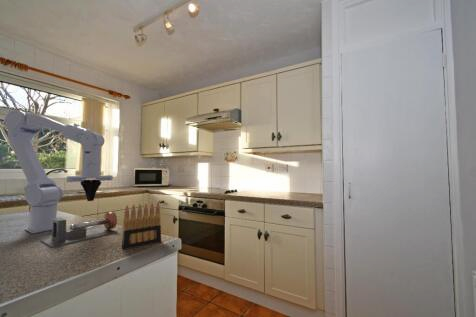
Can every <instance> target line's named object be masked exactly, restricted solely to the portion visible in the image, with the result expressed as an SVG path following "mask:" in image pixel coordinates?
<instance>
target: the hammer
mask: <svg viewBox="0 0 476 317" xmlns="http://www.w3.org/2000/svg"><path fill="white" fill-rule="evenodd" d="M103 216H104V217H103V219H102V218H101V219H97V220H91V221H85V222H80V223H79V222H78V223H73V224H70V225H69V230H76V229H82V228H86V229H87V228H91V227H96V226H102V225H104V226H103V227H105V228H106V229H108V230H109V229H111V230H114V229H115V228H116V227H117V224H118V216H117V214H116V213H115V211H109V212H106V213H105V214H104V215H103Z"/></svg>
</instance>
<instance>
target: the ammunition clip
mask: <svg viewBox="0 0 476 317" xmlns="http://www.w3.org/2000/svg"><path fill="white" fill-rule="evenodd" d="M137 207H138V208H137V211H136V206H135V204H133V205H132V207H131V210H130V209H129V205H126V206H125V208H124V216H123V221H122V222H123V223H122V224H123V226H122V237H121V238H122V240H121V249H122V250H128V249H134V248H137V247H144V246H148V245H152V244H158V243H161V242H162V225H161V207H160V203H159V202H157V203H156V206H154V203H152V202H151V204H150V207H148V204H147V203H145V204H144V208H143V209H142V204H141V203H140V204H139V205H138V206H137ZM130 212H131V213H130ZM136 213H137V215H136Z"/></svg>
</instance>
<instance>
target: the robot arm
mask: <svg viewBox="0 0 476 317" xmlns="http://www.w3.org/2000/svg"><path fill="white" fill-rule="evenodd" d="M3 123H4V125H5V127H6V129H7V140H8V143H9V145H10V146H11V148H12V151H13V152H14V155H15V157H16V159H17V162H18V163H19V165H20V167H21V169H22V171H23V174H24V176H25V178H26V181H27V182H28V183H27V184H26V185H25V186H24V188H23V190H24V192H25V196H24V197H25V202H26V203H27V204H28V205H29V207H30V210H29V215H28V227H25V228H24V229H25V230H26V231H28V232H29V233H31V234H36V233H42V232H47V231H52V221H53V219H54V218H58V215H57V214H58V204H59V202H60V200H61V199H62V198H63V190H62V188H61V187H60V186H58V185H57V183H56V181H54V180H53V179H51V178H49V177H48V175H47V174H46V171H45V169H44V166H43V165H42V162H41V161H40V158H39V156H38V154H37V152H36V149H35V148H34V145H33V144H32V142H31V140H32V139H34V138H35V137H36V136H37V135H38V134H39V133H40V132H41V131H42V130H44V129H50V130H53V131H56V132H57V133H62V136H63V138H65V139H67V140H69V141H73V142H75V143H78V144H79V145H81V150H82V158H81V159H82V165H81V175H76V176H75V175H74V176H71V175H70V176H69V175H68V176H66V183H75V182H78V183H79V182H80V185H81V187H82V188H83V190H84V193H85V197H86V201H87V202H93V201H94V200H95V196H96V194H97V192H98V189H99V187H100V186H101V184H102V181H103V182H104V181H113V177H114V176H113V175H108V174H107V175H101V163H102V162H101V161H102V147H103V146H104V144H105V138H104V136H103V135H102V134H100V133H99V132H94V131H92V130H91V129H90V128H84V127H81V126H80V124H77V123H68V124H64V123H61V122H60V121H56V120H54V119H52V118H49V117H47V116H44V115H39V114H36V113H31V112H27V111H22V110H20V109H12V110H10V111H8V112H7V114H6V116H5V118H4V119H3Z"/></svg>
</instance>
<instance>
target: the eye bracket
mask: <svg viewBox="0 0 476 317" xmlns="http://www.w3.org/2000/svg"><path fill="white" fill-rule="evenodd" d="M117 233H118V231H116V230H114V229H109V230H108V229H106V228H105V226H101V227H98V228H93V229H87V228H82V229H76V230H70V229H69V230H67V219H66V218H62V217H57V218H54V219H53V221H52V230H51V237H47V238H41V239H40V242H41V243H43V244H45V245H47V247H49V248H51V249H54V248H58V247H63V246H66V245H71V244H74V243H78V242H79V243H80V242H83V241H87V240H88V241H89V240H92V239H97V238H100V237H101V238H102V237H105V236H109V235H115V234H117Z"/></svg>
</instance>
